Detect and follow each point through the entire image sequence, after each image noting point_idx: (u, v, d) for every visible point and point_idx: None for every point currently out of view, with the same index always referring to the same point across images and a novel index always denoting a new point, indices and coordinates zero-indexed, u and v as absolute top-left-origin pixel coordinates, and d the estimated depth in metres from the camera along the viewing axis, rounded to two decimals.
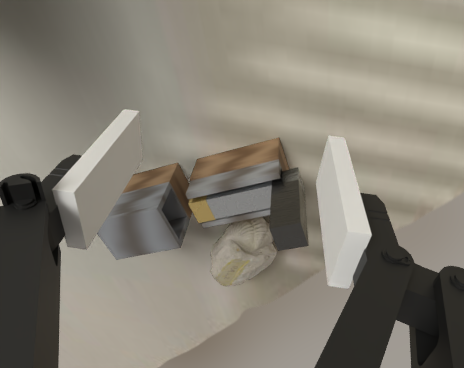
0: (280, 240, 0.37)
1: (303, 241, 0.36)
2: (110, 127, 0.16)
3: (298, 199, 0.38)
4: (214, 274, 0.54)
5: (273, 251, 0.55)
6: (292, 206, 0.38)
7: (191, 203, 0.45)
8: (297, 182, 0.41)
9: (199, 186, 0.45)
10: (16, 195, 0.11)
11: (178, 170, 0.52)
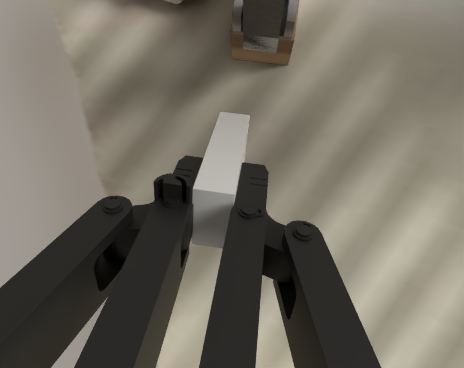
0: None
1: None
2: (216, 129, 0.16)
3: None
4: None
5: None
6: None
7: None
8: (279, 33, 0.32)
9: None
10: (167, 192, 0.12)
11: None
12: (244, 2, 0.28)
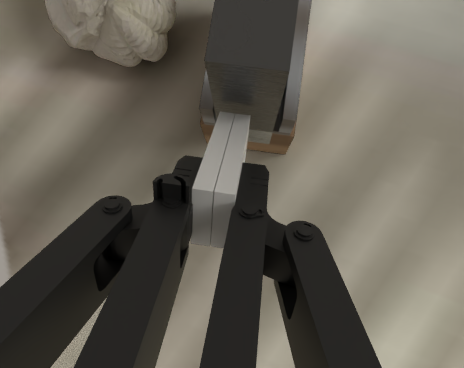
0: (250, 3, 0.14)
1: (224, 54, 0.13)
2: (216, 129, 0.16)
3: (279, 106, 0.17)
4: None
5: (81, 39, 0.27)
6: None
7: None
8: (273, 127, 0.20)
9: None
10: (166, 192, 0.12)
11: None
12: (213, 94, 0.17)
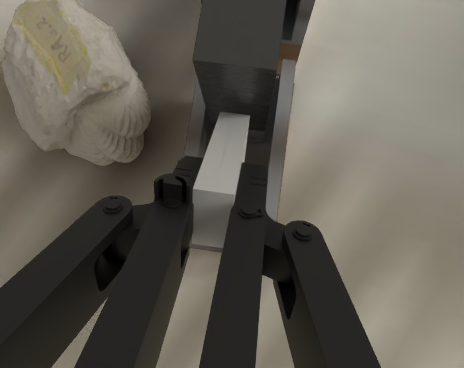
0: (238, 3, 0.14)
1: (212, 53, 0.14)
2: (216, 129, 0.16)
3: (269, 105, 0.17)
4: (65, 3, 0.23)
5: (51, 145, 0.26)
6: None
7: None
8: (265, 126, 0.20)
9: None
10: (167, 192, 0.12)
11: None
12: (204, 93, 0.17)
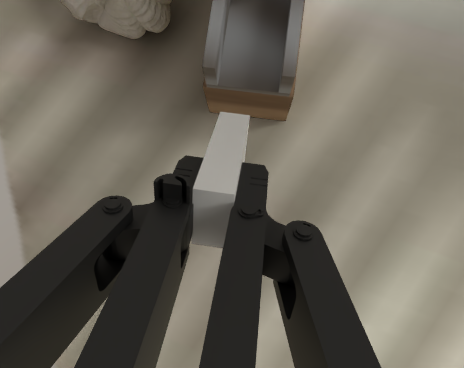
0: None
1: None
2: (216, 129, 0.16)
3: None
4: None
5: (87, 10, 0.28)
6: None
7: None
8: None
9: None
10: (167, 192, 0.12)
11: None
12: None
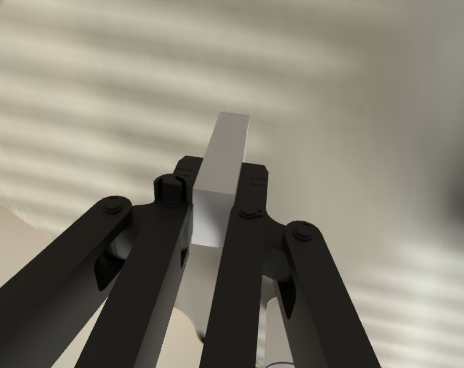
0: None
1: None
2: (216, 129, 0.16)
3: None
4: None
5: None
6: None
7: None
8: None
9: None
10: (167, 192, 0.12)
11: None
12: None
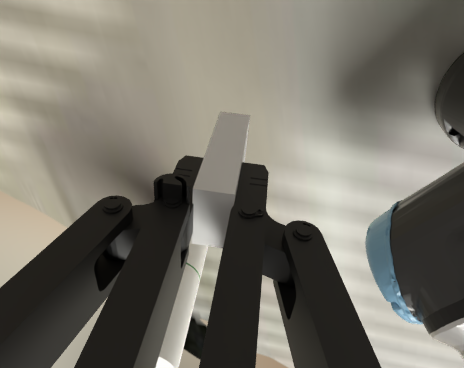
0: None
1: None
2: (216, 129, 0.16)
3: None
4: None
5: None
6: None
7: None
8: None
9: None
10: (167, 192, 0.12)
11: None
12: None
